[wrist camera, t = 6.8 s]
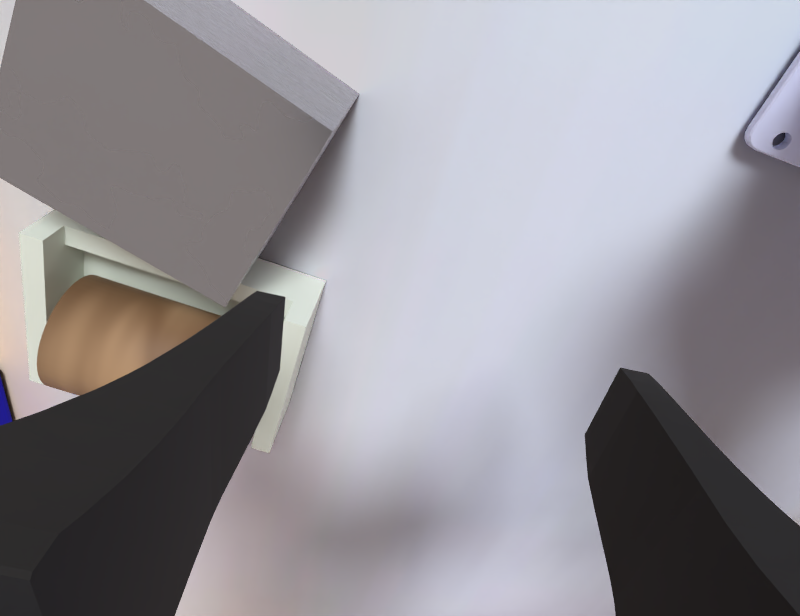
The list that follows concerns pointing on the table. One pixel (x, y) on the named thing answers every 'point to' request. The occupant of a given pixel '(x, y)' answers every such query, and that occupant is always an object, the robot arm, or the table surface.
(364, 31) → the table surface
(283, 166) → the slab
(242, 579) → the table surface
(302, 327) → the cradle
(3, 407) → the puzzle cube
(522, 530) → the table surface
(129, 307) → the roller
